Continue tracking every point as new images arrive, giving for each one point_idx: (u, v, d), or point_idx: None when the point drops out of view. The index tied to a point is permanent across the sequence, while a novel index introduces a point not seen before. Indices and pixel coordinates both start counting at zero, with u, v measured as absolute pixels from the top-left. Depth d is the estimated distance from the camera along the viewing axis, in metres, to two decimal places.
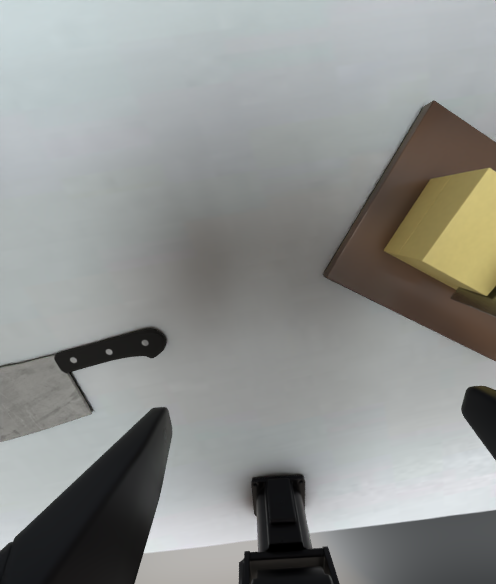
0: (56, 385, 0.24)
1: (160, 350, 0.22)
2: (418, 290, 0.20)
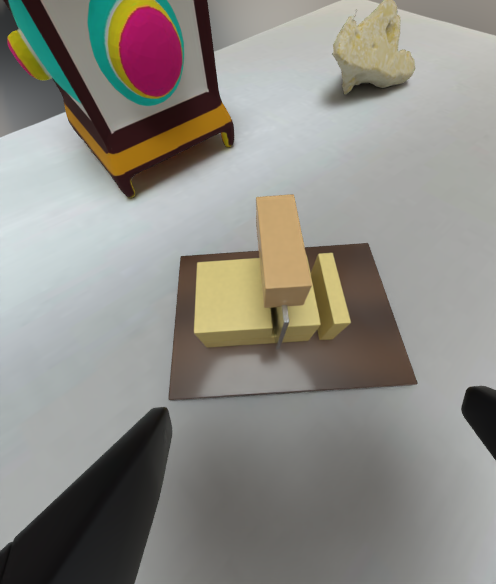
0: None
1: None
2: (263, 361, 0.20)
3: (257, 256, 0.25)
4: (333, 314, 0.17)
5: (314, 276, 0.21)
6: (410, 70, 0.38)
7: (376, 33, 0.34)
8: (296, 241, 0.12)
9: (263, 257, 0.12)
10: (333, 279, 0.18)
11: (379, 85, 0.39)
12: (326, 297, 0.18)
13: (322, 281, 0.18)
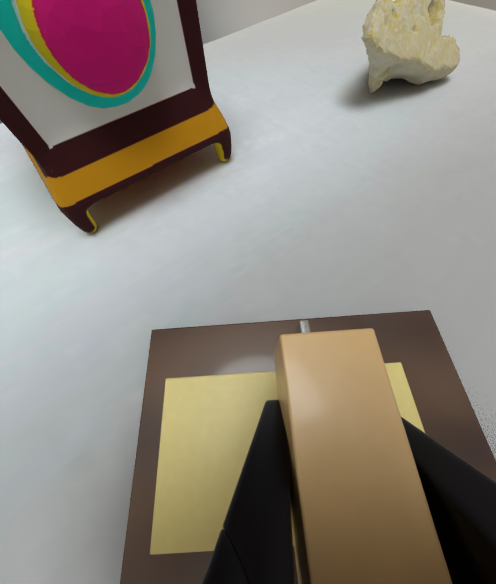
0: None
1: None
2: None
3: (265, 331, 0.16)
4: None
5: None
6: (455, 62, 0.30)
7: (417, 12, 0.26)
8: (413, 523, 0.04)
9: None
10: None
11: (414, 81, 0.31)
12: None
13: None
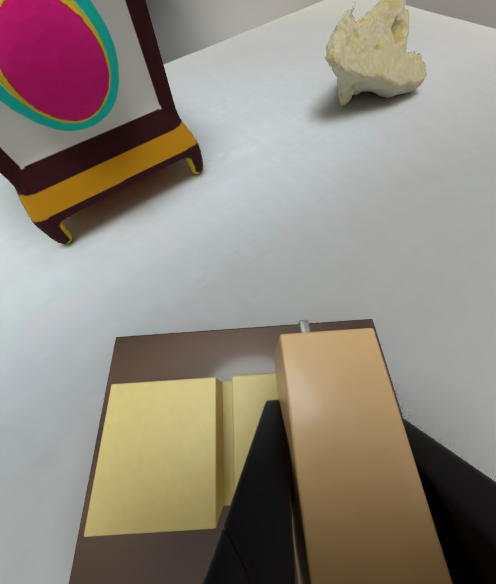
0: None
1: None
2: (216, 527, 0.13)
3: (220, 339, 0.18)
4: None
5: None
6: (421, 77, 0.31)
7: (379, 31, 0.27)
8: (413, 524, 0.04)
9: None
10: None
11: (383, 94, 0.32)
12: None
13: None
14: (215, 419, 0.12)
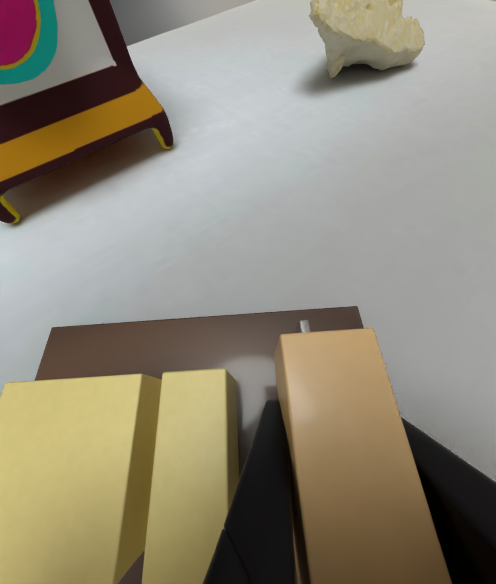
0: None
1: None
2: None
3: (174, 329, 0.15)
4: None
5: None
6: (418, 45, 0.28)
7: None
8: (413, 524, 0.04)
9: None
10: None
11: (377, 66, 0.29)
12: None
13: None
14: (133, 430, 0.09)
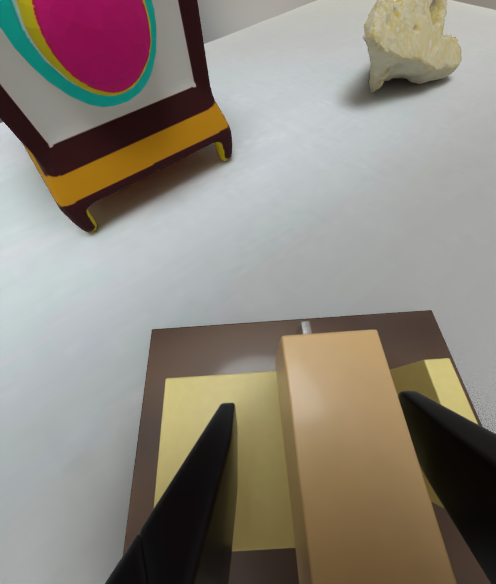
0: None
1: None
2: None
3: (266, 331, 0.16)
4: None
5: (405, 385, 0.12)
6: (456, 61, 0.30)
7: (418, 11, 0.26)
8: (419, 531, 0.04)
9: None
10: None
11: (415, 80, 0.31)
12: None
13: None
14: None
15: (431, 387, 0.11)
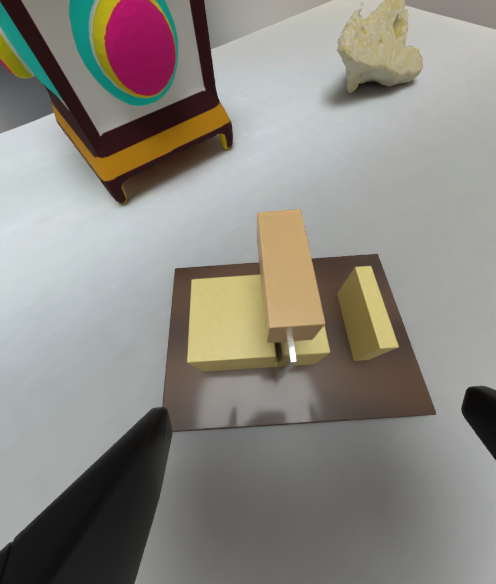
0: None
1: None
2: (264, 387, 0.18)
3: (258, 268, 0.23)
4: (378, 337, 0.15)
5: (348, 290, 0.19)
6: (418, 68, 0.36)
7: (383, 28, 0.32)
8: (305, 267, 0.10)
9: (266, 287, 0.10)
10: (374, 296, 0.16)
11: (385, 83, 0.37)
12: (368, 316, 0.16)
13: (360, 297, 0.17)
14: None
15: (358, 282, 0.17)
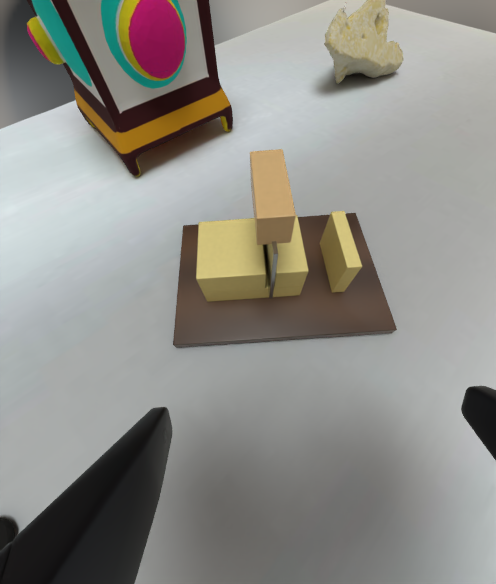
0: None
1: None
2: (258, 312, 0.22)
3: None
4: (346, 260, 0.19)
5: (327, 235, 0.23)
6: (398, 60, 0.40)
7: (365, 25, 0.36)
8: (283, 184, 0.14)
9: (255, 196, 0.14)
10: (345, 232, 0.20)
11: (370, 75, 0.41)
12: (340, 247, 0.20)
13: (335, 235, 0.21)
14: None
15: (333, 223, 0.21)
